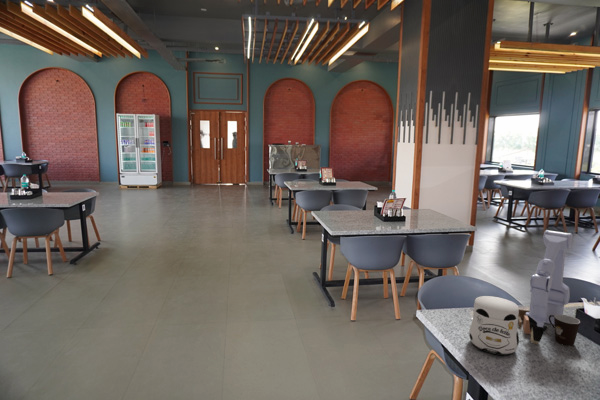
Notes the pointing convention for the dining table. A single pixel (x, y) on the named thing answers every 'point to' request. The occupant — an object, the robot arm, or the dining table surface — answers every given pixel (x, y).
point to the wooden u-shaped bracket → (521, 316)
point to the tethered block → (528, 329)
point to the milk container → (495, 325)
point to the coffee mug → (565, 329)
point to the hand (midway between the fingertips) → (535, 336)
